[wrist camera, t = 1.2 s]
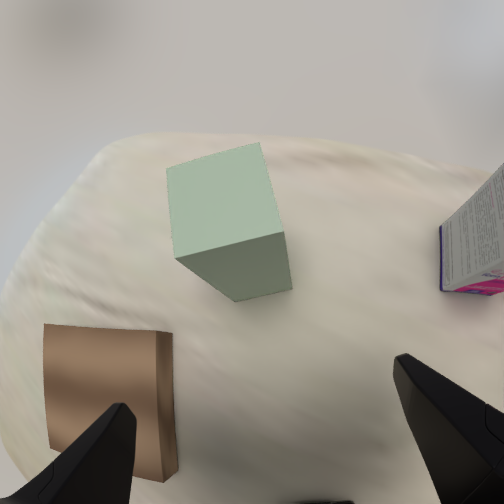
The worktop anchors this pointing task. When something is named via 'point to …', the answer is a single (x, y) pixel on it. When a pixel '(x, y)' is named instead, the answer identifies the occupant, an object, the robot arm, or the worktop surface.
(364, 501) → the worktop surface
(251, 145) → the sage block
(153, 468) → the walnut base
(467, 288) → the supplement box
